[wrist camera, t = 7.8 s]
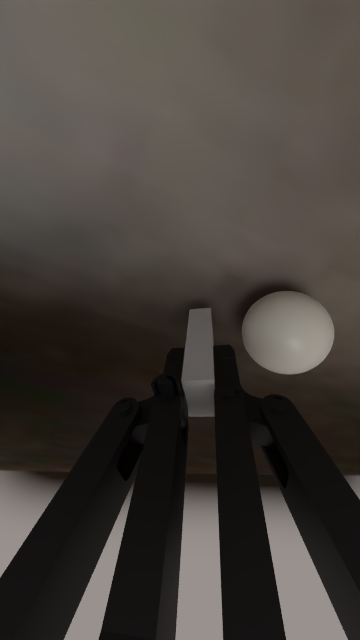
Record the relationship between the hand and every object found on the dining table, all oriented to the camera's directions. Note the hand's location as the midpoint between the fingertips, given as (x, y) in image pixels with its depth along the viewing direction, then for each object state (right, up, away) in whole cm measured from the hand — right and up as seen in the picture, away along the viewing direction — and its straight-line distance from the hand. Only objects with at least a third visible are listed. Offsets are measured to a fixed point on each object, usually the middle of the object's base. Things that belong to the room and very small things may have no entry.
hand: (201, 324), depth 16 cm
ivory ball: (+5, 0, -1) cm, 6 cm away
